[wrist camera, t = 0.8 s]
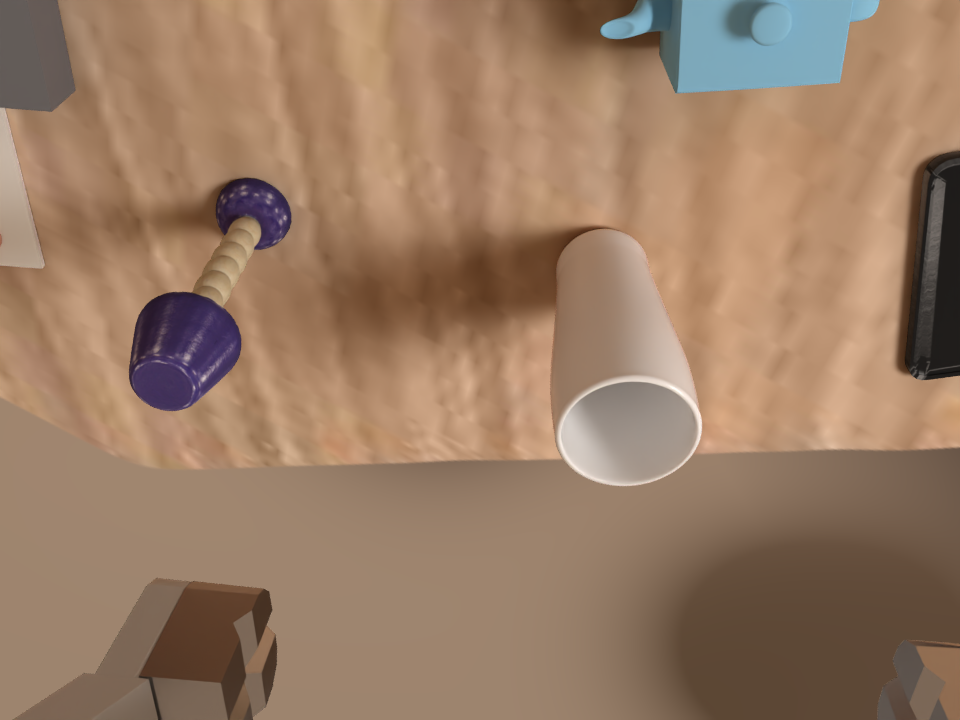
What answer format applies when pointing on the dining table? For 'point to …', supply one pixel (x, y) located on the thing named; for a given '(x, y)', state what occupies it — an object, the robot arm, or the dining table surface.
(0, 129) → the pattern card
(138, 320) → the toy lamp
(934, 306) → the phone
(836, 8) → the teapot
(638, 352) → the drinking glass
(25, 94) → the button panel
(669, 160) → the dining table surface
